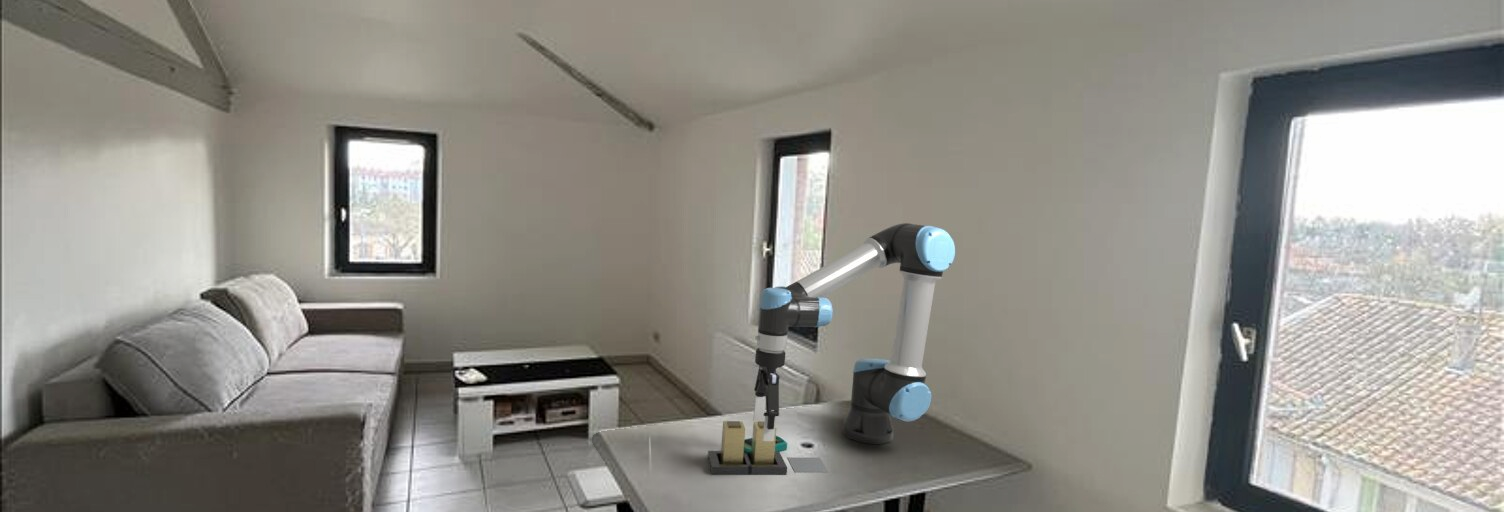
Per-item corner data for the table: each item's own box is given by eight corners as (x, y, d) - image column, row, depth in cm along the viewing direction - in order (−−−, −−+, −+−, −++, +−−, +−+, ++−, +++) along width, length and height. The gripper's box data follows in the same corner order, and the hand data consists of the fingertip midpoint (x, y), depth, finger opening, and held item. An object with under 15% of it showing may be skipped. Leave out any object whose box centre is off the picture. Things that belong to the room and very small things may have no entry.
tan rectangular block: (769, 462, 178) (772, 420, 176) (772, 470, 173) (776, 427, 171) (750, 462, 177) (753, 420, 175) (753, 470, 172) (757, 427, 171)
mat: (819, 459, 183) (819, 457, 183) (828, 474, 174) (828, 471, 174) (787, 459, 181) (787, 457, 181) (794, 474, 173) (794, 471, 173)
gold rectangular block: (739, 462, 176) (742, 419, 175) (742, 470, 171) (745, 427, 170) (720, 462, 175) (723, 419, 174) (722, 470, 170) (725, 426, 169)
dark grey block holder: (778, 460, 181) (779, 451, 180) (786, 476, 171) (787, 467, 170) (707, 460, 177) (708, 450, 177) (711, 476, 167) (712, 467, 167)
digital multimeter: (788, 451, 187) (789, 440, 187) (746, 460, 178) (747, 449, 177) (771, 441, 193) (772, 431, 192) (729, 450, 183) (730, 440, 183)
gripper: (748, 337, 183) (741, 413, 185) (765, 362, 158) (757, 449, 161) (775, 338, 184) (768, 414, 186) (796, 363, 160) (788, 450, 162)
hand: (763, 430), depth 173 cm, fingers open, 13 cm apart
